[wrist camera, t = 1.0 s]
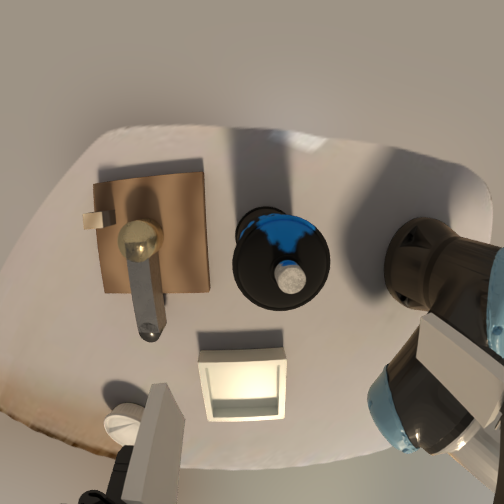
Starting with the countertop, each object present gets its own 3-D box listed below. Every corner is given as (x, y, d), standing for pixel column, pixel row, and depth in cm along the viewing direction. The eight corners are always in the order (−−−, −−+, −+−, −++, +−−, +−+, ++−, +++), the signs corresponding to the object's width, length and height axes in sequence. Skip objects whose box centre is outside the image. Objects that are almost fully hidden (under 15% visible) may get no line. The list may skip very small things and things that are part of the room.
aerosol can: (297, 262, 39) (347, 325, 20) (238, 268, 39) (237, 340, 19) (292, 203, 37) (347, 214, 18) (232, 209, 37) (223, 225, 18)
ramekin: (115, 389, 43) (105, 406, 38) (169, 412, 44) (164, 431, 39) (109, 420, 45) (101, 436, 40) (157, 441, 46) (152, 458, 41)
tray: (283, 347, 42) (286, 359, 38) (281, 405, 44) (284, 418, 41) (200, 350, 41) (197, 362, 38) (209, 408, 44) (208, 421, 41)
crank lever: (127, 219, 35) (115, 222, 31) (162, 216, 35) (152, 219, 31) (142, 328, 38) (134, 341, 34) (174, 329, 38) (168, 343, 34)
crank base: (204, 172, 36) (197, 168, 30) (210, 287, 39) (205, 303, 33) (99, 184, 36) (78, 183, 29) (110, 288, 39) (92, 303, 33)
